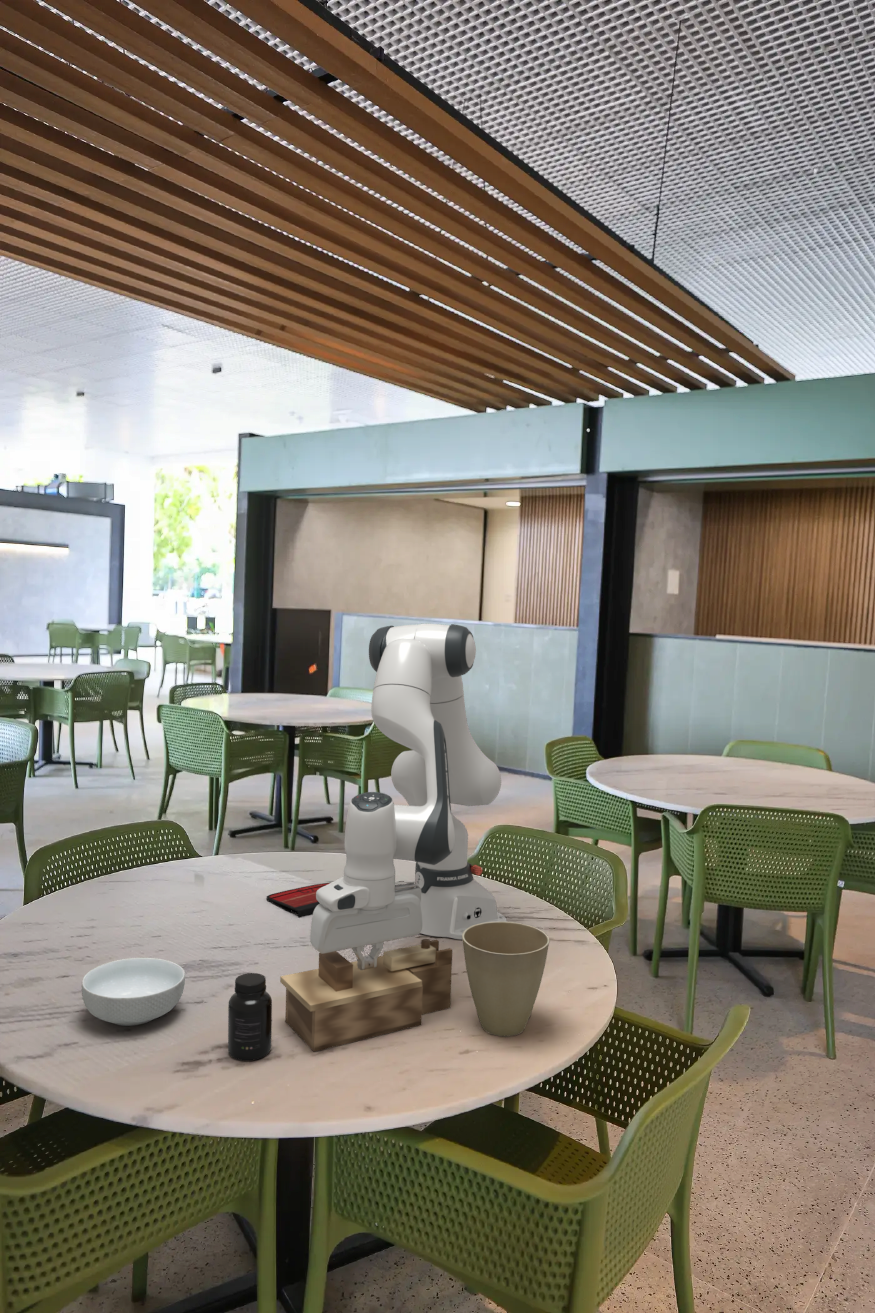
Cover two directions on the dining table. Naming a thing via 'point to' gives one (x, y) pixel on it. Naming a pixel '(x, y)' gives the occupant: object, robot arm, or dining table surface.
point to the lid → (345, 982)
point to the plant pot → (504, 973)
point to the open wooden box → (375, 1009)
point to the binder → (297, 899)
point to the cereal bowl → (133, 990)
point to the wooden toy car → (409, 956)
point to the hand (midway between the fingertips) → (366, 968)
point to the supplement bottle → (249, 1018)
